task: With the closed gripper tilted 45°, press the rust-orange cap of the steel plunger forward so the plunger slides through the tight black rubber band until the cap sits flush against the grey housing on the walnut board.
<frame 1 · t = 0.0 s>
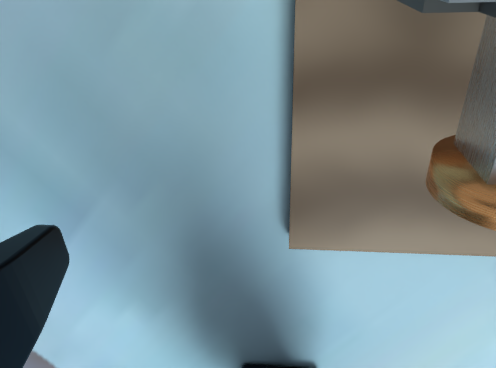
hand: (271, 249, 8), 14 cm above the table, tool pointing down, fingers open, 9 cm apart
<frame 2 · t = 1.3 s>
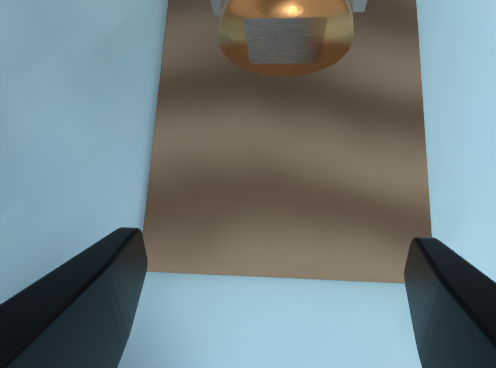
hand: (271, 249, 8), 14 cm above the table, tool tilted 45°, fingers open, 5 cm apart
walnut board: (288, 3, 25), on the table
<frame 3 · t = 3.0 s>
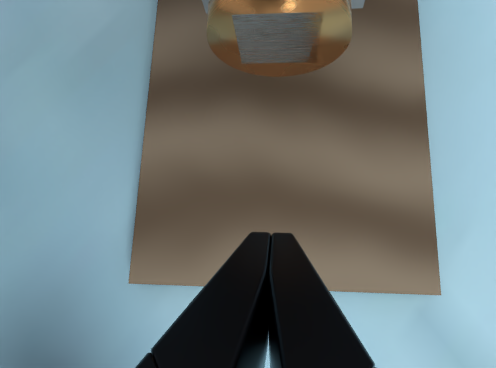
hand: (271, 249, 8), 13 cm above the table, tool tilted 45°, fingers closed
walnut board: (283, 0, 24), on the table
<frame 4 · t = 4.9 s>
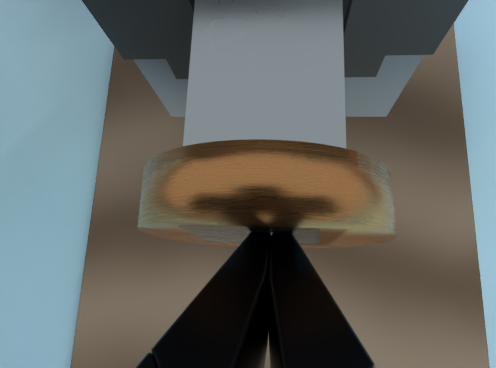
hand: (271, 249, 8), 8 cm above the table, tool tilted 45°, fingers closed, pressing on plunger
walnut board: (277, 95, 18), on the table
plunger: (269, 64, 9), point 8 cm above the table, slide at -4.2 cm, touching gripper
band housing: (273, 3, 12), on the walnut board, point 6 cm above the table
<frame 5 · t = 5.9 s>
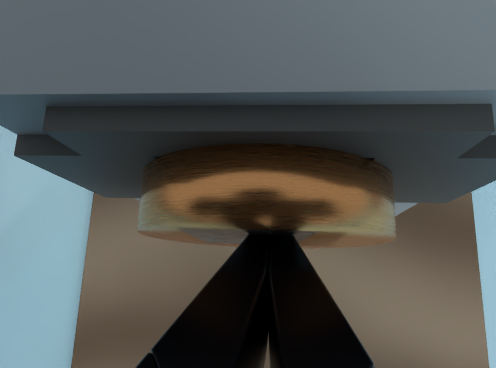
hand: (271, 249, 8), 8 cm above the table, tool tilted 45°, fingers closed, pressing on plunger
walnut board: (275, 184, 17), on the table
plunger: (268, 64, 9), point 8 cm above the table, slide at 0.1 cm, touching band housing, gripper
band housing: (270, 137, 11), on the walnut board, point 6 cm above the table
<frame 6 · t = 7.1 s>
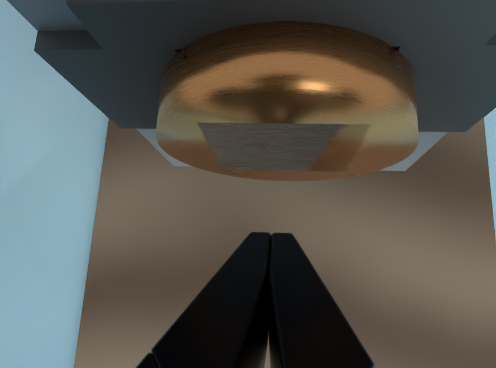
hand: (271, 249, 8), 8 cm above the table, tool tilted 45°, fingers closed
walnut board: (286, 140, 17), on the table
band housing: (286, 68, 11), on the walnut board, point 6 cm above the table
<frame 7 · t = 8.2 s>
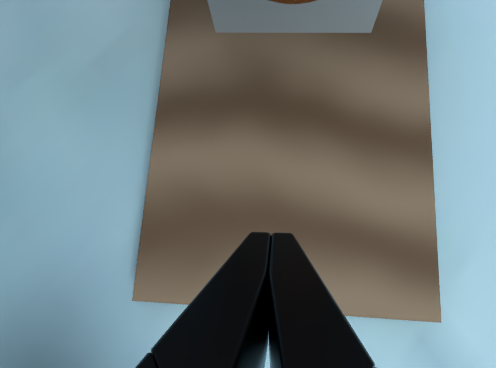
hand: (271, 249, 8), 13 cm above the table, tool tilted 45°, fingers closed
walnut board: (292, 21, 24), on the table
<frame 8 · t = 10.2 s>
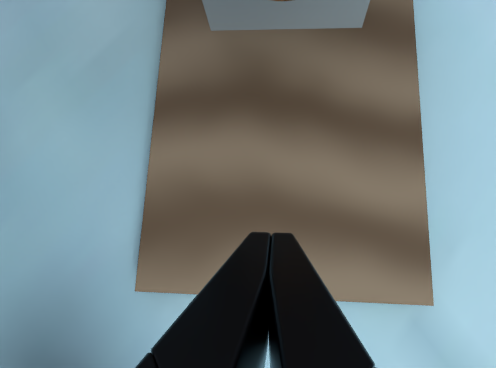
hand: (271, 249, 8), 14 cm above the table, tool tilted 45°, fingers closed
walnut board: (285, 18, 25), on the table
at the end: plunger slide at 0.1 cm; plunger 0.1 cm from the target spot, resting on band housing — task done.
